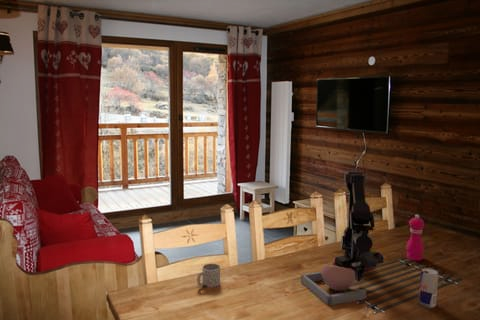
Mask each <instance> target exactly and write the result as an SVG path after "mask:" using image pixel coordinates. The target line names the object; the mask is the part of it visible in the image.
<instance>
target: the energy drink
mask: <svg viewBox="0 0 480 320" xmlns="http://www.w3.org/2000/svg"><path fill="white" fill-rule="evenodd" d="M419 281H420V282H419V293H418V303H419V305H420V306H422V307H424V308H427V309H428V308H429V309H432V308H435V307H436V306H437V296H438V281H439V273H438V271H437V270H436V269H434V268H428V267H426V268H425V267H424V268H421V271H420V280H419Z"/></svg>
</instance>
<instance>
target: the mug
mask: <svg viewBox="0 0 480 320" xmlns="http://www.w3.org/2000/svg"><path fill="white" fill-rule="evenodd" d="M201 278H202V281H201ZM196 283H197V286H200V287H201V286H203V285H205V286H207V287H206V288H210V287H211V288H217V287H219V286H220V285H221V266H220V265H219V264H218V263H206V264H203V266H202V270H201V272H199V273H198V274H197V277H196ZM205 286H203V287H205ZM216 286H217V287H216Z"/></svg>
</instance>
